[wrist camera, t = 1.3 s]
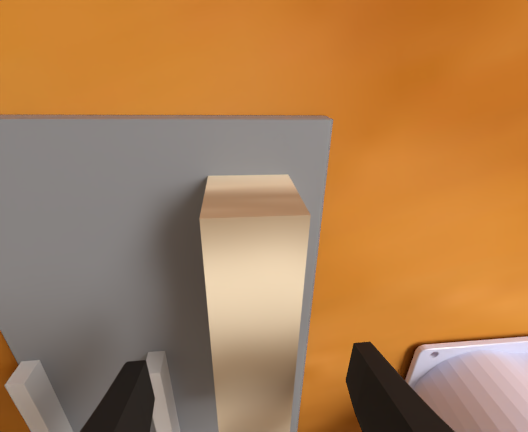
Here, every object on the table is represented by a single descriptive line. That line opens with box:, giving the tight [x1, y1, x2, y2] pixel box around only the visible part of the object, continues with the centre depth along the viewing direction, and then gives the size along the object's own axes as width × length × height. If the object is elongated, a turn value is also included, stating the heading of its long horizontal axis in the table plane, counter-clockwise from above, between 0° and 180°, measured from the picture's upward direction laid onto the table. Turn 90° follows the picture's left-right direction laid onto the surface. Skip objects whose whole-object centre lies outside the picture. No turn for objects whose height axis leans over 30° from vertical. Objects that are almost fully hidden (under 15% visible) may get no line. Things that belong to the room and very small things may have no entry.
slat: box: [199, 174, 311, 432], centre depth 12 cm, size 12×3×4 cm, turn 179°
